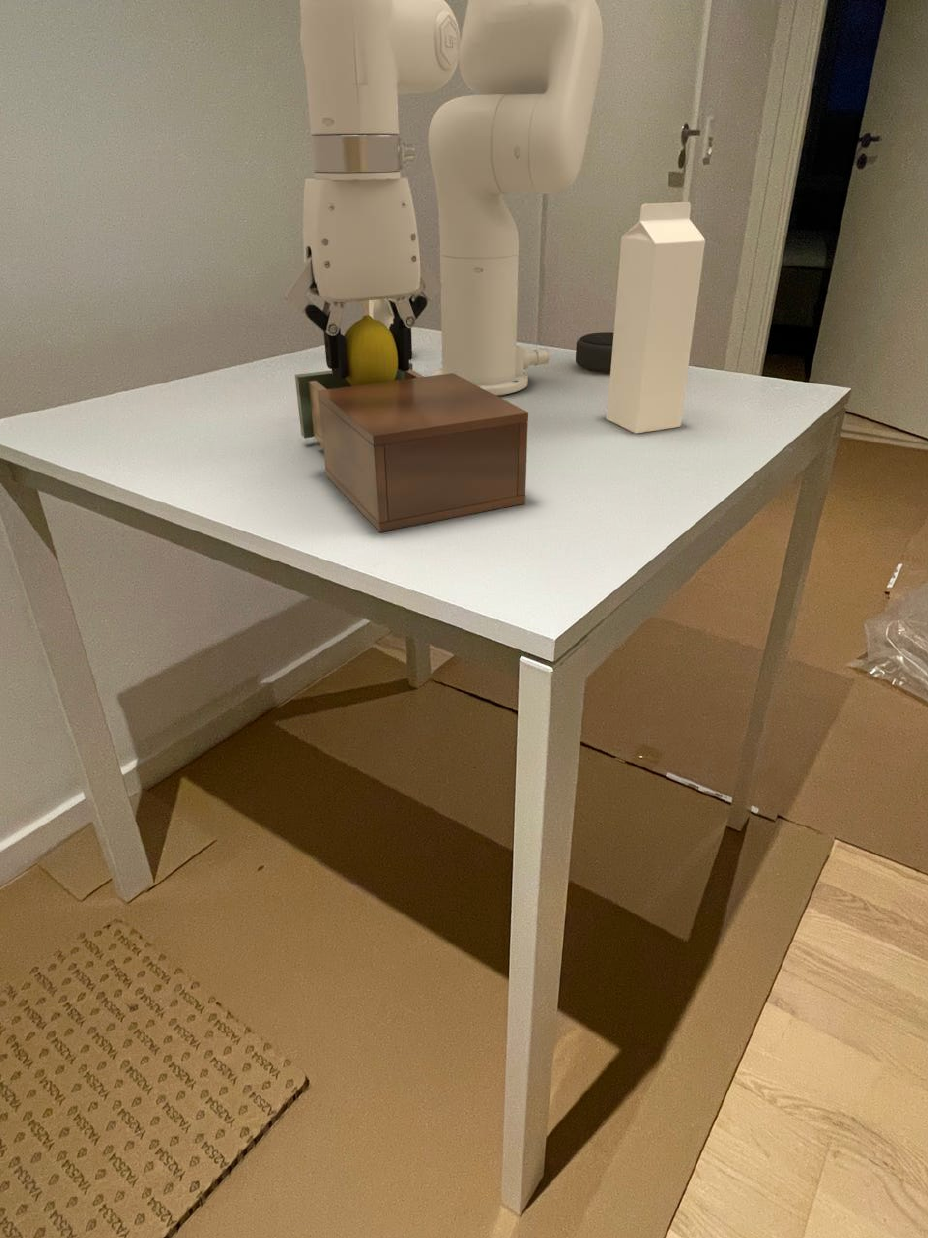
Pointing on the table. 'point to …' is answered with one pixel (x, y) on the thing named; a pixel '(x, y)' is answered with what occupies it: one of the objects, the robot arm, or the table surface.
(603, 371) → the smart speaker
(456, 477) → the cabinet
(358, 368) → the lemon
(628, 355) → the milk
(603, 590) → the table surface
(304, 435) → the drawer
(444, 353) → the robot arm
